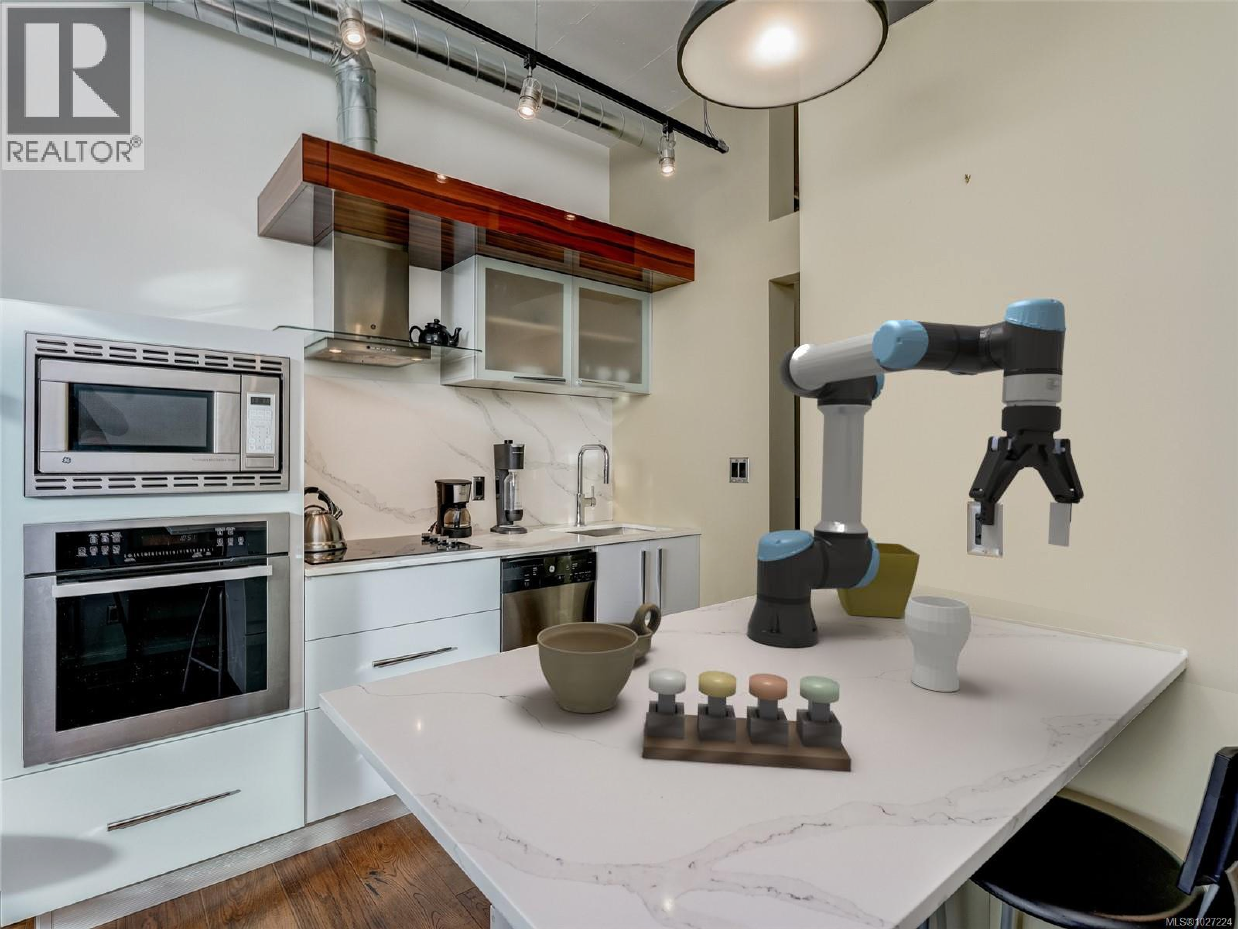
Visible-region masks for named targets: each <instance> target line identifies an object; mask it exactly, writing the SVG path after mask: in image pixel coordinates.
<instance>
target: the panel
mask: <svg viewBox="0 0 1238 929" xmlns="http://www.w3.org/2000/svg"><path fill="white" fill-rule="evenodd" d="M707 706H708V703H700V702H699V703H698V702H697V714H685V702H681V701H675V713H659V712H658V700H649V702H648V712H645V723H644V731H643V732H644V733H643V743H642V758H645V759H647V758H648V759H661V760H678V761H691V762H692V761H693V762H694V761H695V762H710V763H721V764H723V763H726V764H742V765H755V766H771V767H772V766H773V767H785V768H786V767H787V768H790V767H791V768H802V769H803V768H805V769H819V770H836V771H852V759H851V758H852V757H850V755H849V753H848V751H847V750H846V748H845V747H844V745H843V742H842V737H843V736H842V733H843V732H842V731H843V725H842V724H841V723H840V720H839V719H838V718H837V716H836V714H835V712H834V711H833V710H830V722H816V721H810V720H809V718H808V708H807V709H806V708H796V714H795V715H796V716H795V717H796V719H795V720H788V719H787V718H788V717H787V715H786V713H785V711H784V708H783V707H778V715H777V719H763V718H758V715H757V706H752V705H750V706H749V705H747V706H746V717H736V713H735V708H734V705H733V704H726V716H711V715H708V712H707Z"/></svg>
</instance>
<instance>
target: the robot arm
mask: <svg viewBox="0 0 1238 929" xmlns="http://www.w3.org/2000/svg"><path fill="white" fill-rule="evenodd" d="M1003 319H1004V320H1003V321H1001V322H996V323H992V324H986V325H977V326H976V325H967V324H956V323H955V324H953V323H952V324H951V323H939V322H929V321H921V320H920V321H917V320H912V319H891V320H887V321H885V322H883V323H882V324H881V326H880V327H878V328H877V329H876V331H873V332H869V333H863V334H862V335H861V334H860V335H857V336H853V337H849V338H845V339H841V340H837V341H833V342H829V343H825V344H821V345H819V344H815V343H806V344H800V345H798V346H795V347H793V348H791V349H789V350H788V351H787V352H786V353H785V354H784V355H783V356H782V358H781V361H780V363H779V367H778V374H779V379H780V381H781V383H782V385H783V387H784V388H785V389H786V390H787V391H788V392H790V393H792V395H795V396H798V397H801V398H805V399H816V400H817V402H816V404H817V405H816V409H817V410H818V411H820V413H822V415H823V434H822V437H823V438H822V469H821V470H822V472H821V473H822V475H821V476H822V477H821V505H820V506H821V510H820V511H821V512H820V513H821V514H820V520H819V522H818V523H817V524H815V526H814V527H813V533H812V532H811V531H809V530H801V529H794V530H793V529H791V530H790V529H789V530H788V529H786V530H784V529H783V530H779V531H778V530H777V531H772V532H768V533H766V534H763V535H762V536H761V537H760V538H759V540H758V544H757V545H758V546H757V553H756V559H757V560H756V561H757V562H756V563H757V566H756V567H757V568H756V569H757V570H756V601H755V603H754V607H753V609H752V611H751V615H750V617H749V620H748V622H747V633H746V634H747V636H748V638H750V639H751V640H753V641H756V642H757V643H760V644H764V645H769V646H773V647H774V646H775V647H782V648H804V647H810V646H814V645H816V644H817V643H818V642H819V630H818V629H819V628H818V626H817V623H816V619H815V615H814V613H813V609H812V602H811V601H812V590H813V591H814V590H837V589H852V588H859V587H864V586H866V585H868V584H869V583H870V581H872V580H873V579H874V577H875V575H876V573H877V571H878V567H879V551H878V549H876V547H877V545H876V543H877V542H875V540H874V539H873V538H871V537H869V530H868V528H867V527H866V526H865V525H864V523H862V512H863V511H862V508H863V507H862V506H863V501H862V500H863V476H864V475H863V472H864V467H863V466H864V436H865V435H864V434H865V433H864V431H865V415H866V414H867V413H868V412H869V411H870V410H871V409H872V406H873V405H872V404H873V401H876V400H877V398H879V396H880V395H881V394H882V390H883V389H884V386H885V377H886V376H885V374H890V373H895V372H897V373H899V372H904V371H913V370H914V371H915V370H918V371H919V370H921V371H922V370H923V371H938V372H942V371H943V372H947V373H950V374H952V375H955V376H976V375H978V374H984V373H989V372H996V371H997V372H998V371H1003V372H1002V373H1003V375H1002V377H1003V378H1002V391H1001V392H1002V394H1001V395H1002V396H1001V402H1002V403H1003V404H1004V405H1006V406H1004V407H1003V408H1002V409H1001V423H1000V424H1001V425H1000V426H1001V428H1000V429H1001V430H1002V431H1003V432H1005V433H1006V435H1004V436H1002V435H1001V436H999V435H998V436H989V437H988V440H987V448H986V452H985V455H984V456H983V459H982V461H981V464H980V466H979V468H978V471H977V473H976V474H975V477H974V481H973V482H972V485H971V486H970V489H969V491H968V496H969V498H971V499H973V501H974V502H976V503H980V508H979V509H980V512H979V513H980V514H979V522H980V525H981V538H980V539H981V540H980V547H983V548H990V549H995V550H1001V549H1002V534H1003V533H1002V531H1003V527H1002V526H1003V508H1004V505H1003V504H1001V503H998V502H999V501H1000V499H1002V496H1003V495H1004V493H1005V492H1006V491H1007V489H1008V488H1009V486H1010V485H1011V483H1012V482H1013V480H1014V479H1015V477H1016V476H1017V475H1018V473H1019V472H1020V471H1023V470H1024V469H1025V468H1033V470H1036V471H1037V473H1038V474H1039V476H1040V477H1041V479H1042V481H1043V483H1044V484H1045V485H1046V488H1047V489H1048V491H1049V493H1050V495H1051V496H1052V498H1053V500H1054V502H1051V501H1050V502H1049V520H1048V521H1049V522H1048V524H1049V525H1048V543H1047V544H1048V545H1053V546H1058V547H1059V546H1060V547H1067V548H1068V547H1070V530H1071V529H1070V527H1071V521H1072V513H1073V512H1072V510H1073V508H1072V507H1073V504H1076V505H1077V504H1079V503H1080V502H1081V500H1082V499H1083V498H1084V496H1085V493H1084V490H1083V487H1082V484H1081V481H1080V480H1081V479H1080V477H1079V474H1078V472H1077V468H1076V465H1075V462H1074V459H1073V455H1072V448H1071V447H1072V446H1071V445H1072V444H1071V440H1070V438H1054V434H1055V433H1056V432H1057V433H1058V431H1059V432H1060V430H1061V428H1062V408H1061V407H1060V406H1058V405H1057V404H1059V403H1061V402H1062V400H1063V399H1062V396H1063V395H1062V393H1063V391H1062V390H1063V375H1064V374H1063V373H1064V372H1063V370H1064V368H1063V365H1064V350H1065V339H1066V331H1067V327H1066V313H1065V305H1064V303H1063V302H1061V301H1060V300H1058V299H1052V298H1034V299H1024V300H1020V301H1016V302H1013V303H1011V304H1010V305H1009V306H1007V307H1006V310H1005V316H1004V318H1003Z"/></svg>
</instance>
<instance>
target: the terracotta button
mask: <svg viewBox="0 0 1238 929" xmlns="http://www.w3.org/2000/svg"><path fill="white" fill-rule="evenodd" d="M748 693H749V694H750V695H751V696H752V697H755V698H757V706H756V707H757V715H758V718H763V719H777V715H778V708H779V707H778V706H779V701H782V700H785V699H786V698H787V697H788V680H787V679H786V678H785V677H782V676H780V675H777V674H773V673H754V674H752V675H750V676H749V677H748Z"/></svg>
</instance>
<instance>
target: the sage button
mask: <svg viewBox="0 0 1238 929" xmlns="http://www.w3.org/2000/svg"><path fill="white" fill-rule="evenodd" d="M799 682H800V683H799V695H800V696H801V698H803V699H805V700H807V702H808V704H807V705H808V706H807V709H808V718H809V720H810V721H816V722H830V711H831V704H833V703H836V702H837V703H838V701H839V700H840V688H841V687H840V686H841V685H840V683H839V682H837V681H836V680H834V679H832V678H828V677H824V676H820V675H818V676H817V675H811V676H810V675H809V676H808V675H807V676H803V677H802V678H800V680H799Z"/></svg>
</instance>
